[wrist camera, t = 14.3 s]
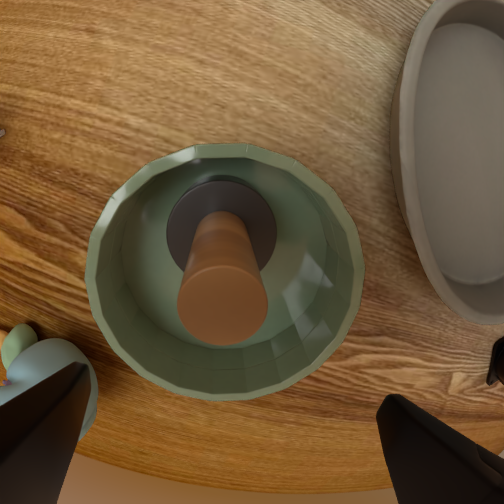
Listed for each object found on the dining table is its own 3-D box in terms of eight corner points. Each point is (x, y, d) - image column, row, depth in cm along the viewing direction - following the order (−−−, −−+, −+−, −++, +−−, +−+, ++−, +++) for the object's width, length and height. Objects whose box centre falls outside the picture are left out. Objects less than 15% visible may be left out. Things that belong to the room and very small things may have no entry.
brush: (273, 257, 19) (323, 365, 9) (185, 272, 18) (156, 391, 9) (261, 167, 17) (311, 193, 8) (166, 184, 17) (101, 230, 7)
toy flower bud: (-85, 332, 10) (64, 433, 11) (-11, 280, 18) (117, 340, 20) (-60, 407, 12) (72, 490, 13) (-5, 349, 20) (109, 406, 22)
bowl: (349, 312, 21) (378, 354, 16) (169, 370, 21) (160, 420, 17) (297, 115, 17) (324, 105, 12) (83, 195, 17) (43, 212, 12)
